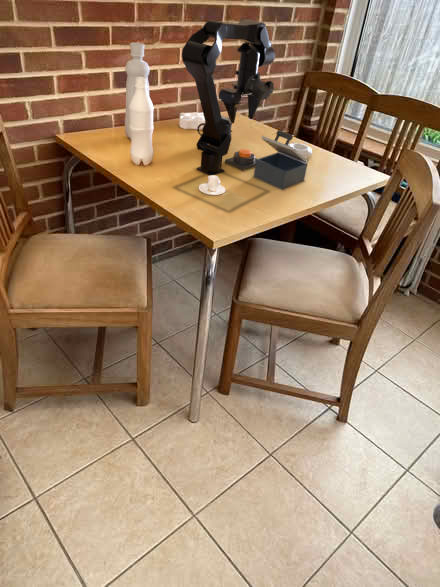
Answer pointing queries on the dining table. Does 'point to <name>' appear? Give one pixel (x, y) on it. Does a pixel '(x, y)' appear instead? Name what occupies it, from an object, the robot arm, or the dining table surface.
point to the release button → (245, 153)
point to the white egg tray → (191, 120)
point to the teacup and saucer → (212, 186)
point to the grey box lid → (284, 146)
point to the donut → (301, 149)
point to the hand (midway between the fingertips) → (241, 120)
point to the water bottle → (141, 124)
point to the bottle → (134, 78)
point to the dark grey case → (280, 170)
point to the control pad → (241, 161)
